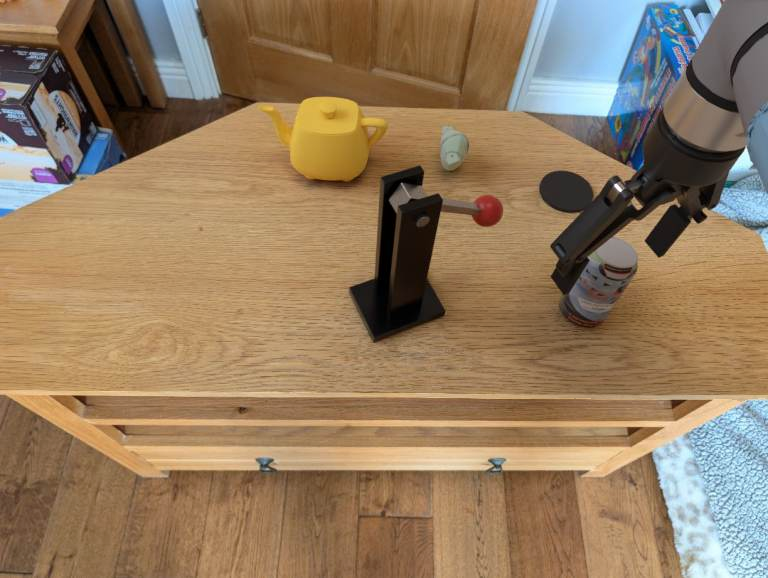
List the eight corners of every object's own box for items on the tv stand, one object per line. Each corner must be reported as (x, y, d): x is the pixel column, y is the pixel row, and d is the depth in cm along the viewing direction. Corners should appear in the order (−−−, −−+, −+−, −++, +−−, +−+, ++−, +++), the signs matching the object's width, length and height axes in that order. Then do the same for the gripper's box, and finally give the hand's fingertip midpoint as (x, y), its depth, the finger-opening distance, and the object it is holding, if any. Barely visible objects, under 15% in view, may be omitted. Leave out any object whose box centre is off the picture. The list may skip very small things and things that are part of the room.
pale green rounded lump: (434, 149, 88) (439, 115, 82) (459, 149, 88) (467, 115, 82) (439, 187, 84) (446, 154, 78) (466, 187, 84) (475, 153, 78)
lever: (479, 212, 66) (498, 190, 64) (495, 234, 65) (515, 212, 62) (382, 199, 56) (401, 172, 54) (397, 225, 55) (417, 198, 53)
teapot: (261, 185, 82) (250, 129, 73) (272, 134, 88) (263, 75, 79) (383, 193, 82) (387, 137, 73) (386, 140, 88) (390, 83, 79)
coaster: (602, 203, 83) (604, 201, 83) (558, 219, 81) (559, 216, 81) (572, 167, 87) (573, 164, 87) (529, 181, 85) (530, 178, 85)
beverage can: (554, 327, 71) (588, 275, 61) (557, 281, 75) (589, 225, 65) (603, 338, 71) (645, 287, 61) (604, 291, 75) (643, 236, 65)
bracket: (417, 268, 75) (438, 147, 57) (444, 315, 72) (476, 202, 53) (348, 292, 73) (347, 173, 54) (373, 342, 69) (381, 233, 51)
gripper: (612, 198, 42) (535, 329, 60) (843, 117, 49) (711, 257, 67) (558, 133, 46) (500, 275, 64) (779, 65, 52) (670, 212, 70)
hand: (607, 266), depth 65 cm, fingers open, 13 cm apart
